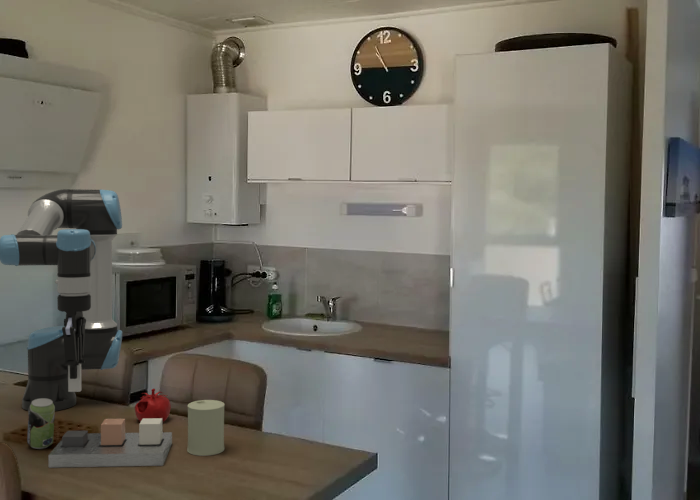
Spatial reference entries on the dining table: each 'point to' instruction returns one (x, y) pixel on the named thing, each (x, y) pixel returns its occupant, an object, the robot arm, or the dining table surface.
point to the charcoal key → (75, 439)
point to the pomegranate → (153, 406)
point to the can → (205, 427)
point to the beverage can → (41, 423)
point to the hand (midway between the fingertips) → (74, 390)
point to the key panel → (112, 453)
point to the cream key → (150, 431)
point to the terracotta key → (113, 432)
